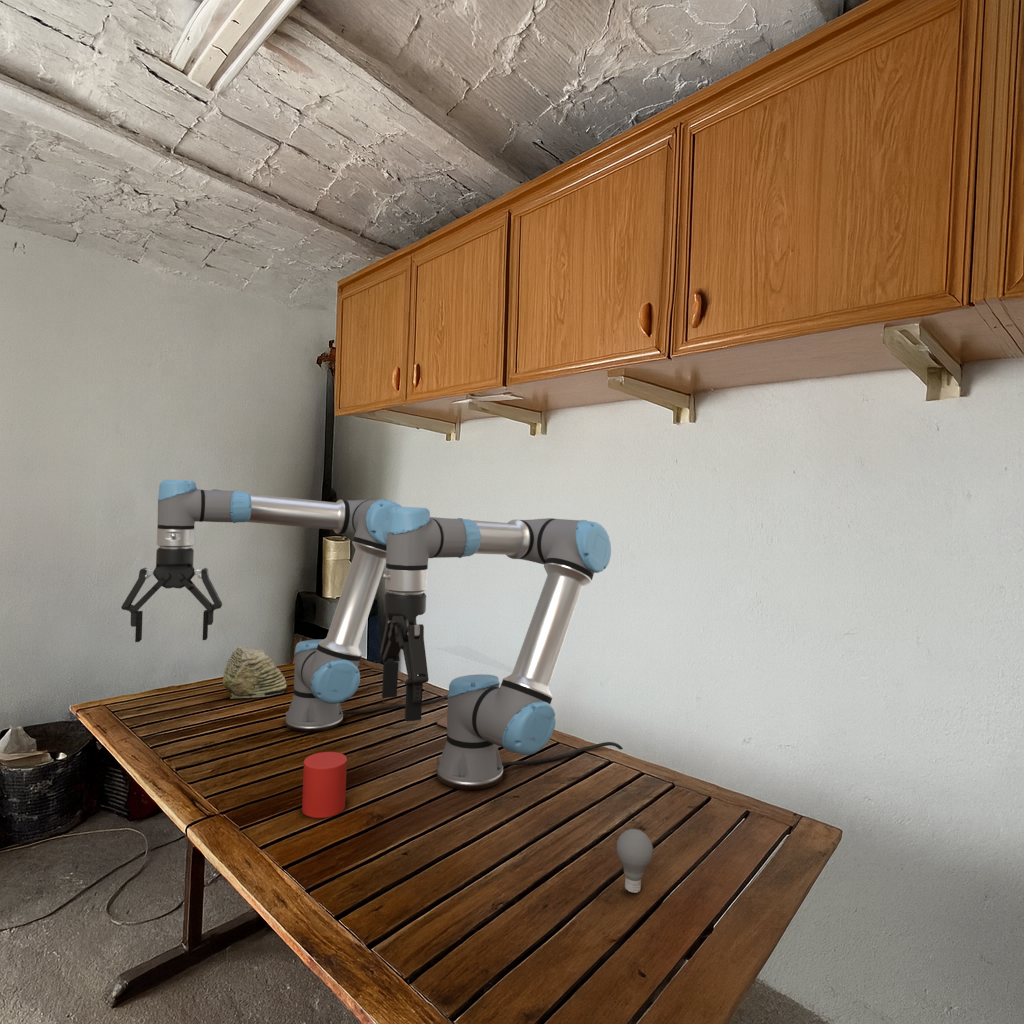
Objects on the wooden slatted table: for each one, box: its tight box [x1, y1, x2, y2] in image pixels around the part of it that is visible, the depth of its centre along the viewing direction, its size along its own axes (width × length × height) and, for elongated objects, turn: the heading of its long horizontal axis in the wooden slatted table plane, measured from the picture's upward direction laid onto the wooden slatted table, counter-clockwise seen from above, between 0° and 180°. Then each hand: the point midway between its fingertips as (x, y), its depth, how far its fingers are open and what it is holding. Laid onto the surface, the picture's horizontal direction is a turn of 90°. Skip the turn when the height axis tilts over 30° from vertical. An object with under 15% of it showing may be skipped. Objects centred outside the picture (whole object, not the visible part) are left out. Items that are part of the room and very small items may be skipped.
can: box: [301, 751, 348, 819], centre depth 129 cm, size 8×8×10 cm
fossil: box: [222, 646, 288, 699], centre depth 198 cm, size 9×18×15 cm, turn 132°
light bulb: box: [615, 828, 654, 894], centre depth 106 cm, size 6×6×10 cm
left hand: (172, 640), depth 145 cm, fingers open, 13 cm apart
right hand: (400, 708), depth 115 cm, fingers open, 13 cm apart
